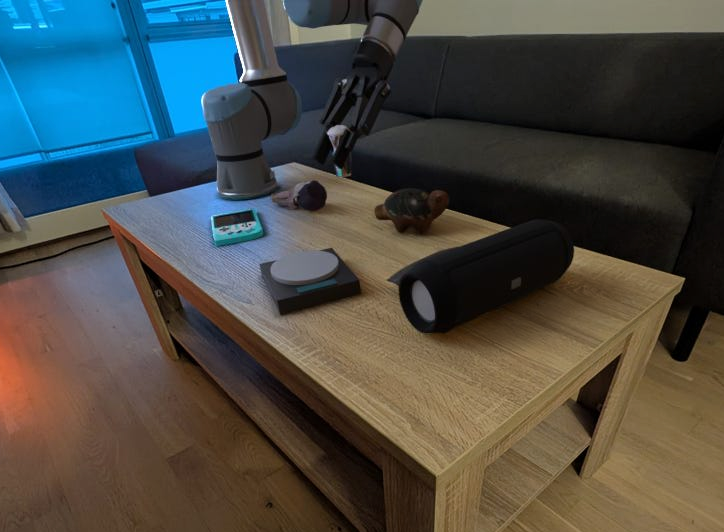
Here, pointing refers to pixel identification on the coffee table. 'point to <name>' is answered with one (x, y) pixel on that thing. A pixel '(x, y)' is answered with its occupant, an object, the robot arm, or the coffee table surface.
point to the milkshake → (334, 139)
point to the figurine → (303, 196)
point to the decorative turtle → (412, 209)
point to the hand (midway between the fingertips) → (327, 163)
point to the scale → (308, 280)
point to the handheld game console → (236, 227)
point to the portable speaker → (484, 275)
